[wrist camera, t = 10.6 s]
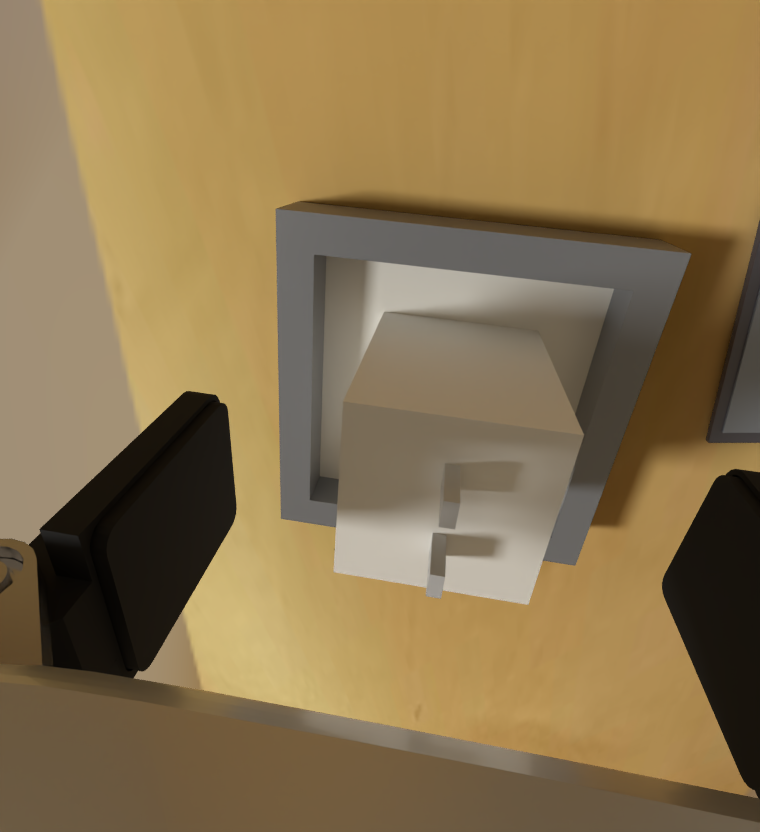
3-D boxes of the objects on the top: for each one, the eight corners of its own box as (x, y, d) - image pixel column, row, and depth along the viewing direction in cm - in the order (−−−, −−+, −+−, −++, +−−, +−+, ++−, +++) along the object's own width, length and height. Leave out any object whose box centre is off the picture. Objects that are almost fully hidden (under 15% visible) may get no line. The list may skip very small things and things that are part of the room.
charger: (384, 311, 15) (328, 432, 8) (537, 330, 14) (600, 472, 8) (372, 443, 17) (321, 616, 11) (505, 462, 17) (534, 653, 10)
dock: (298, 201, 14) (275, 208, 12) (660, 239, 13) (691, 253, 12) (297, 484, 19) (280, 518, 17) (564, 525, 18) (575, 565, 16)
